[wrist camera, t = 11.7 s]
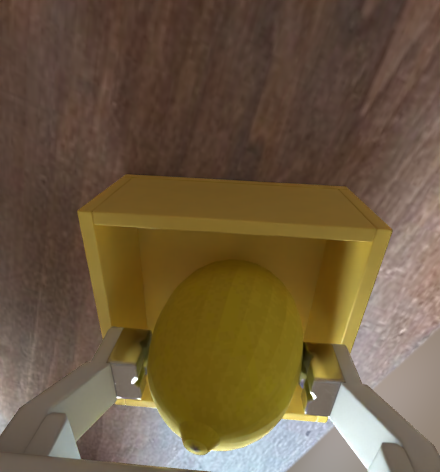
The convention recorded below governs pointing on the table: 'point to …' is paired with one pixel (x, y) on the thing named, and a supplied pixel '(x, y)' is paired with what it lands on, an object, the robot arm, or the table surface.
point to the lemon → (225, 356)
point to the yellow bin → (232, 250)
